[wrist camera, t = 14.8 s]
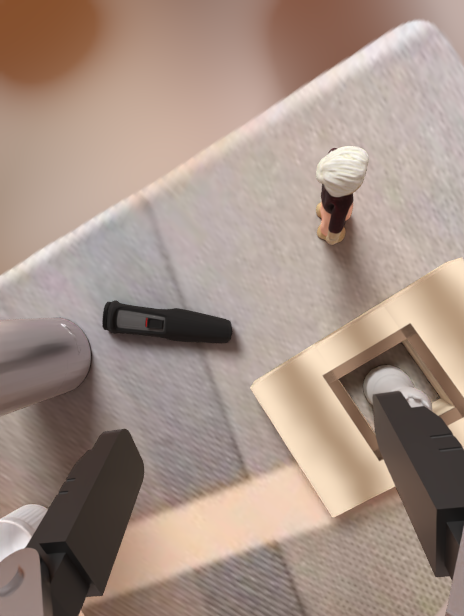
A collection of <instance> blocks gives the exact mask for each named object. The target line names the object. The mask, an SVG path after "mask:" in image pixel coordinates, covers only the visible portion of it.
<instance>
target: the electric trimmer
mask: <svg viewBox="0 0 464 616" xmlns="http://www.w3.org/2000/svg"><path fill="white" fill-rule="evenodd" d="M103 328H104V329H105V330H109V331H110V332H111V333H127V334H139V335H148V336H156V337H162V338H167V339H170V340H174V341H188V342H208V343H227V342H229V340H230V339H231V335H232V326H231V322H230V321H229V320H226V319H223V318H219V317H215V316H210V315H206V314H202V313H197V312H193V311H189V310H183V309H177V308H174V309H154V308H146V307H138V306H132V305H126V304H121V303H119V302H118V301H113V302H107V303H106V305H105V307H104V312H103Z"/></svg>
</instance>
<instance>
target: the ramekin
mask: <svg viewBox="0 0 464 616" xmlns="http://www.w3.org/2000/svg"><path fill="white" fill-rule="evenodd" d="M47 511H48V509H47V508H45V507H43V506H41V505H37V504H28V505H25V506H22V507H20V508H18V509H17V510H15V511H13V512H12V513H10V514H8V515H7V516H5V517H3V518H1V519H0V562H1V561H2V560H3V559H4V558H6V557H7V556H9V555H10V554H12V553H13V552H15V551H18V550H20V549H23V548H25V547H26V546H27V544H28V542H29V541H30V539H31V537H32V536H33V534H34V532H35V531H36V529H37V527H38V526H39V524H40V522H41V521H42V519H43V517H44V516H45V514H46V512H47Z"/></svg>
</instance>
